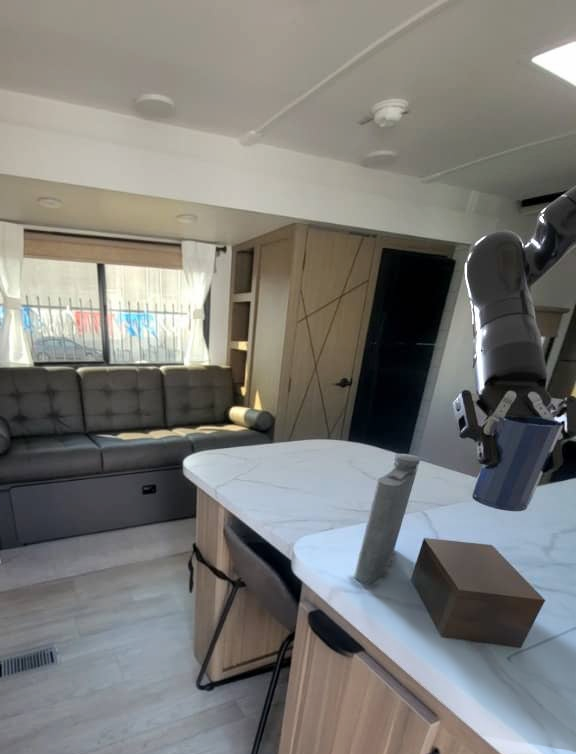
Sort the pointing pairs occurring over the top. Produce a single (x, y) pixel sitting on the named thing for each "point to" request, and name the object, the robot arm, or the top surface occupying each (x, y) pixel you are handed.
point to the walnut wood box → (475, 593)
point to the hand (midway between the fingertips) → (520, 468)
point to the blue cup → (517, 462)
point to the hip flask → (386, 518)
